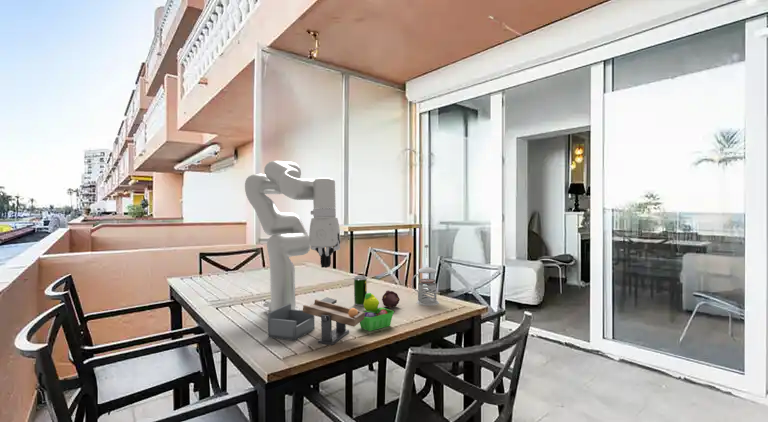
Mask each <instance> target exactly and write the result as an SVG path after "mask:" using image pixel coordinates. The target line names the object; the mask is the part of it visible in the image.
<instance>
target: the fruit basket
mask: <svg viewBox="0 0 768 422" xmlns="http://www.w3.org/2000/svg"><path fill="white" fill-rule="evenodd" d="M379 305H380V301H379V300H378V298H377V297H376V296H375V295H374V294H373V293H371V292H368V293H367V294H366V295H365V301H364V306H363V309H364V310H363V311H362V312H365V317H364V320H362V321H361V322H360V323H359V325H360V328H361V329H363V330H365V331H367V332H372V331H375V330H379V329H383V328H388V327H390V326H391V323H392V318H393V315H394V311H395V310H391V309H388V308H387V307H386V308H385V307H379Z"/></svg>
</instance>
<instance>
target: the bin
mask: <svg viewBox="0 0 768 422" xmlns="http://www.w3.org/2000/svg"><path fill="white" fill-rule="evenodd" d="M315 324H316V323H315V315H311V314H308V313H304V312H303V309H300V310H292V309H291V304H287V305H285V306H282V307H280V308H278V309H276V310H273V311H271V312H269V313H268V315H267V328H268V329H267V333H268V334H267V335H268V338H269V339H278V340H286V341H294V342H296V341H297V340H299V339H300V338H302V337H303V336H305V335H307V334H309V333H310V332H311V331H313V330H315Z"/></svg>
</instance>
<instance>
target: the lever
mask: <svg viewBox="0 0 768 422" xmlns="http://www.w3.org/2000/svg"><path fill="white" fill-rule="evenodd" d="M337 301H338V300H337V299H336V298H331V297H327V296H326V297H324V298H322V299H316V298H315V299H314V303H312V304H310V305H307V304H304V305H303V304H302V310H303V312H304V313H308V314H311V315H314V317H315V316H316V317H319V318H321V315H331V318H332V321H333V322H335V323H336V322H339V323H343V324H346V326H351V327H356V326H357V325H359V324H360V322H361V321H362V320H364V317H365V312H363V311H361V310H358V309H357V311H358V314H357V315H356V316H354V317H353V318H351V317H350V316H349V314H348V312H349V310H350V309H351V308H350V307H346V306H342V305H339V304H337Z"/></svg>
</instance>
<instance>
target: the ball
mask: <svg viewBox="0 0 768 422" xmlns="http://www.w3.org/2000/svg"><path fill="white" fill-rule="evenodd" d="M357 310H358V309H357V308H355V307H352V308H350V310H349V312H348V314H349V316H350V317H351V318H353V317H354V316H356V315H357V314H358V311H359V310H358V311H357Z"/></svg>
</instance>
